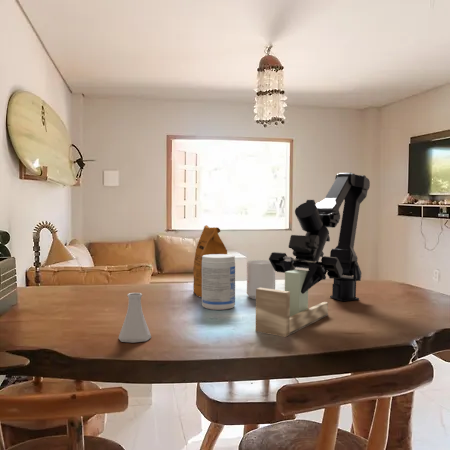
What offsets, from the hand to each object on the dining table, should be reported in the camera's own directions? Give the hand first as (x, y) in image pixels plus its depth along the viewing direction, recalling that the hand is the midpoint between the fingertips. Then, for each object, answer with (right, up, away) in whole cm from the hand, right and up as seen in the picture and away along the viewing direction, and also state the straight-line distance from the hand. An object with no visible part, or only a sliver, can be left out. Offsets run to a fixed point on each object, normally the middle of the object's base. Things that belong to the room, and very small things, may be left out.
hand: (294, 291), depth 117 cm
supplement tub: (-19, -7, +17) cm, 27 cm away
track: (+1, -8, +2) cm, 8 cm away
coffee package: (-22, -6, +33) cm, 40 cm away
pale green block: (+1, -7, +2) cm, 7 cm away
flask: (-37, -9, -13) cm, 40 cm away
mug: (-6, -6, +32) cm, 33 cm away
